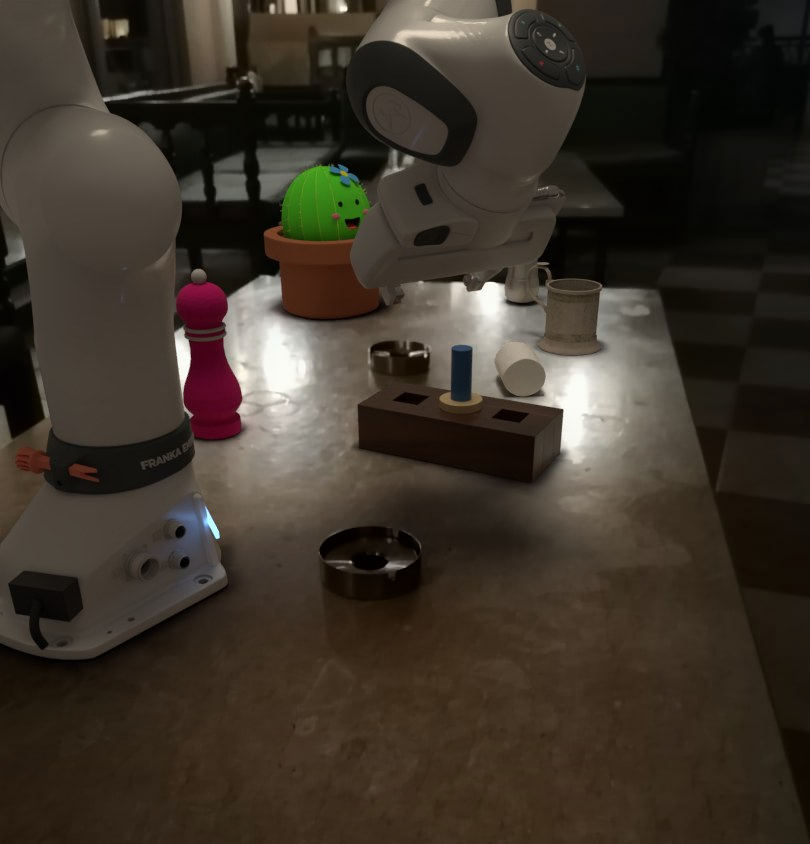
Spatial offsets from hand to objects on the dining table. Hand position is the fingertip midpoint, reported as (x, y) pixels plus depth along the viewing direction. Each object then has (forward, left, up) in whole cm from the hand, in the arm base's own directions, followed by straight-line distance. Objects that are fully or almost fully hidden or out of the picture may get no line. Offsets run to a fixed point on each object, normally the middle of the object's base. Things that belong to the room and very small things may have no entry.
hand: (431, 292), depth 93 cm
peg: (+7, 0, -19) cm, 20 cm away
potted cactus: (+57, +49, -20) cm, 78 cm away
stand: (+7, 0, -20) cm, 21 cm away
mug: (+54, +4, -20) cm, 58 cm away
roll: (+33, +3, -20) cm, 39 cm away
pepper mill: (-1, +30, -20) cm, 36 cm away
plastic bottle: (+76, +19, -20) cm, 81 cm away
